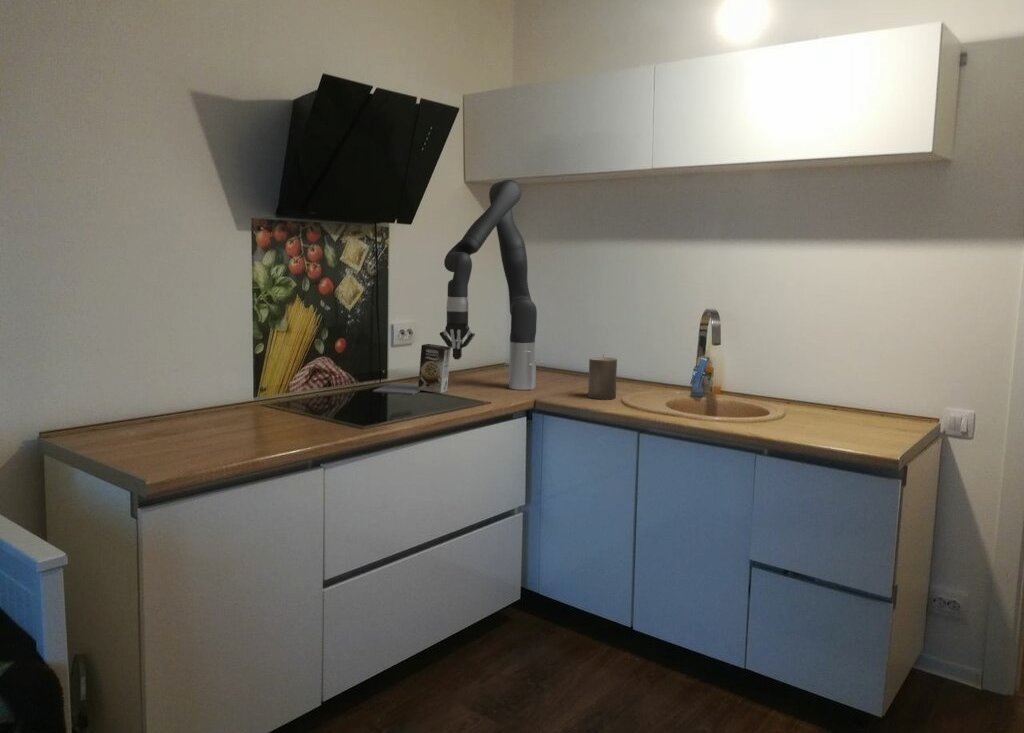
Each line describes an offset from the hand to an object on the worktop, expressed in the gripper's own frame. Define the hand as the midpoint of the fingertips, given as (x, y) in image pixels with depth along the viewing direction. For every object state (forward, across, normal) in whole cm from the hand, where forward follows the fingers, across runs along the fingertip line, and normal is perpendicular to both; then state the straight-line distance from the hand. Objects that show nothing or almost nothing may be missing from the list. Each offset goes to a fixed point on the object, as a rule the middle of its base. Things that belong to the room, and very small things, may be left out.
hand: (457, 359), depth 266 cm
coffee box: (+12, +9, 0) cm, 15 cm away
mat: (+12, +20, 0) cm, 24 cm away
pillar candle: (+12, -50, -10) cm, 52 cm away
